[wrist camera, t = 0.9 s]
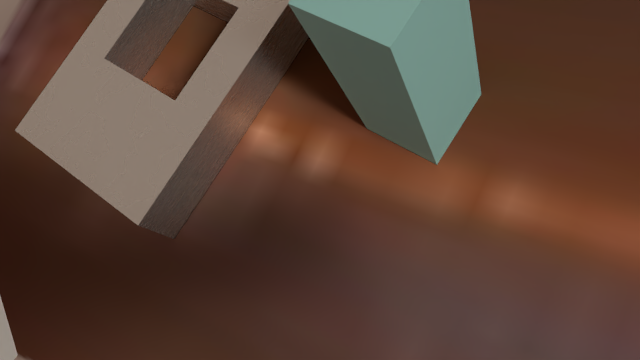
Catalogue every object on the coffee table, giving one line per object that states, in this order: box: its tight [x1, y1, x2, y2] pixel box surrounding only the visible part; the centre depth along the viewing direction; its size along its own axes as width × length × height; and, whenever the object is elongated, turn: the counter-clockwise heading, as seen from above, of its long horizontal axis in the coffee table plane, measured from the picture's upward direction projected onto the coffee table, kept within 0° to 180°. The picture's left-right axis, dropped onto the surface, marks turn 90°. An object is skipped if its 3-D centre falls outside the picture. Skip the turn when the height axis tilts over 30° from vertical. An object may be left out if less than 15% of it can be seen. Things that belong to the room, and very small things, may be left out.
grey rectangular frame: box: [15, 0, 309, 239], centre depth 35 cm, size 20×12×4 cm, turn 145°
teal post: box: [288, 0, 481, 165], centre depth 25 cm, size 4×4×12 cm
